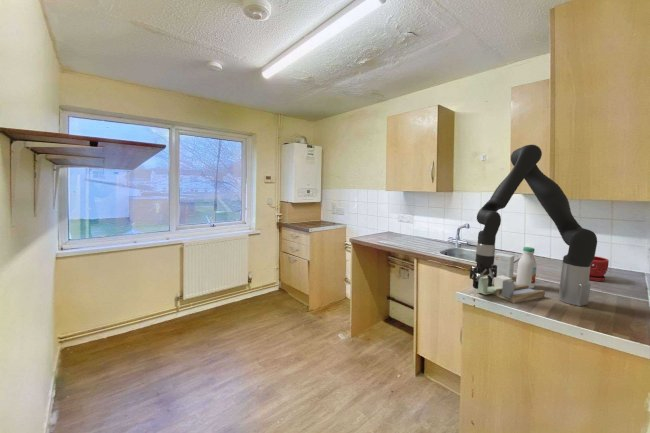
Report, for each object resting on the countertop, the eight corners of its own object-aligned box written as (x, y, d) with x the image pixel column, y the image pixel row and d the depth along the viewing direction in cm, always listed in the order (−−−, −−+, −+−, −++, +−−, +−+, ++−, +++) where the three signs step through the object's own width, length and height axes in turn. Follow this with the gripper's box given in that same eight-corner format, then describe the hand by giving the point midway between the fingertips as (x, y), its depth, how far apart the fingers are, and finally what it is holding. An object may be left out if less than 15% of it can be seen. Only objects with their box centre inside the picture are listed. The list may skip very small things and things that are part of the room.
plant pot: (595, 275, 163) (598, 255, 161) (612, 283, 150) (615, 261, 148) (569, 273, 166) (571, 253, 164) (583, 281, 153) (585, 259, 152)
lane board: (544, 297, 130) (545, 291, 130) (513, 303, 123) (514, 296, 123) (511, 285, 145) (511, 279, 144) (482, 289, 138) (482, 283, 138)
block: (511, 288, 135) (512, 278, 134) (503, 289, 133) (504, 279, 133) (501, 285, 140) (502, 275, 139) (493, 286, 138) (494, 276, 137)
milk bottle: (526, 289, 139) (530, 250, 137) (512, 284, 147) (516, 246, 144) (538, 288, 141) (542, 249, 139) (523, 282, 149) (527, 245, 146)
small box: (512, 278, 156) (515, 255, 154) (508, 280, 152) (510, 257, 150) (496, 274, 162) (498, 252, 160) (492, 276, 158) (494, 254, 156)
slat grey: (539, 293, 131) (541, 279, 131) (510, 298, 125) (512, 284, 124) (528, 289, 136) (530, 276, 135) (500, 294, 129) (501, 280, 129)
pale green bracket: (513, 289, 136) (515, 276, 135) (484, 294, 129) (485, 280, 128) (504, 286, 140) (505, 272, 140) (475, 290, 134) (476, 276, 133)
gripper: (480, 256, 124) (477, 292, 126) (504, 254, 129) (500, 288, 131) (466, 252, 131) (464, 286, 133) (489, 250, 136) (486, 282, 138)
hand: (482, 287), depth 132 cm, fingers open, 8 cm apart
